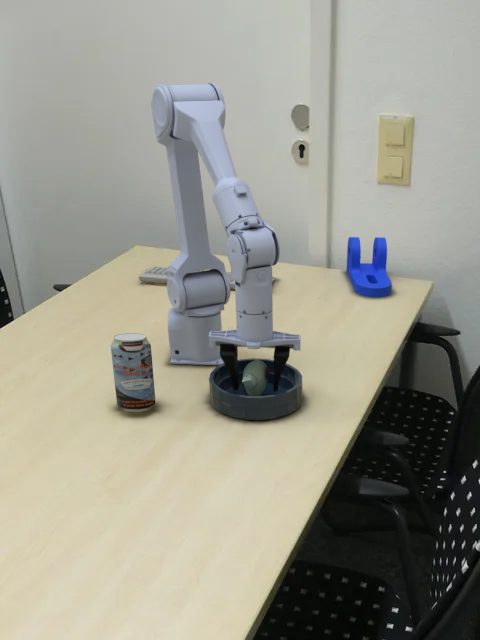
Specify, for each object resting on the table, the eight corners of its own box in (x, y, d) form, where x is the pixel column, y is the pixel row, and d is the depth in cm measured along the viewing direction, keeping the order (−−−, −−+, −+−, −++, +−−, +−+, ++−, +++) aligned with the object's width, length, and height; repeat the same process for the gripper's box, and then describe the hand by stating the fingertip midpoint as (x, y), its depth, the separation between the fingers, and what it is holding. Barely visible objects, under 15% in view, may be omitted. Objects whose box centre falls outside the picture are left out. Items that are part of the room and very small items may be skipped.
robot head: (250, 387, 134) (249, 350, 130) (273, 389, 134) (273, 352, 130) (238, 407, 128) (237, 369, 124) (263, 410, 127) (262, 372, 123)
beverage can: (118, 419, 123) (107, 347, 116) (117, 398, 128) (107, 328, 121) (158, 416, 124) (151, 344, 117) (156, 395, 130) (148, 326, 123)
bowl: (205, 419, 124) (203, 395, 122) (216, 379, 136) (214, 356, 134) (300, 422, 125) (300, 399, 123) (302, 382, 137) (303, 360, 135)
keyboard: (275, 279, 181) (275, 270, 180) (268, 294, 173) (268, 285, 172) (152, 269, 182) (151, 261, 181) (139, 284, 173) (138, 275, 172)
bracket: (346, 271, 189) (348, 233, 183) (379, 272, 190) (382, 233, 185) (357, 297, 174) (359, 256, 169) (393, 297, 176) (397, 257, 170)
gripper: (204, 315, 118) (209, 397, 126) (300, 319, 119) (299, 400, 127) (209, 299, 123) (214, 378, 131) (301, 303, 124) (300, 381, 132)
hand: (256, 388), depth 129 cm, fingers open, 6 cm apart
